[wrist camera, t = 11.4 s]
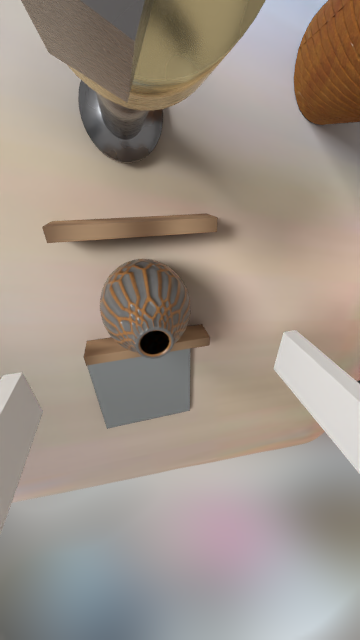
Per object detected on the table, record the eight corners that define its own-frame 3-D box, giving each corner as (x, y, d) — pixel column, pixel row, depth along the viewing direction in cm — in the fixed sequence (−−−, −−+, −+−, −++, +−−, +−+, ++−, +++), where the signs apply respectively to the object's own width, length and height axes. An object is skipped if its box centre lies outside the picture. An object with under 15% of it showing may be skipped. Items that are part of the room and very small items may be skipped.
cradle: (89, 348, 23) (86, 365, 21) (51, 221, 17) (42, 227, 14) (201, 331, 25) (209, 345, 23) (206, 213, 19) (217, 217, 17)
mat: (107, 424, 29) (107, 428, 29) (87, 360, 24) (86, 364, 23) (188, 406, 31) (189, 410, 31) (188, 344, 26) (190, 347, 25)
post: (90, 163, 15) (37, 124, 5) (70, 55, 13) (-115, -445, 3) (162, 162, 16) (237, 129, 6) (158, 62, 14) (274, -286, 4)
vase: (190, 295, 22) (225, 349, 15) (133, 331, 23) (140, 400, 16) (152, 233, 19) (175, 266, 11) (85, 278, 19) (65, 337, 12)
